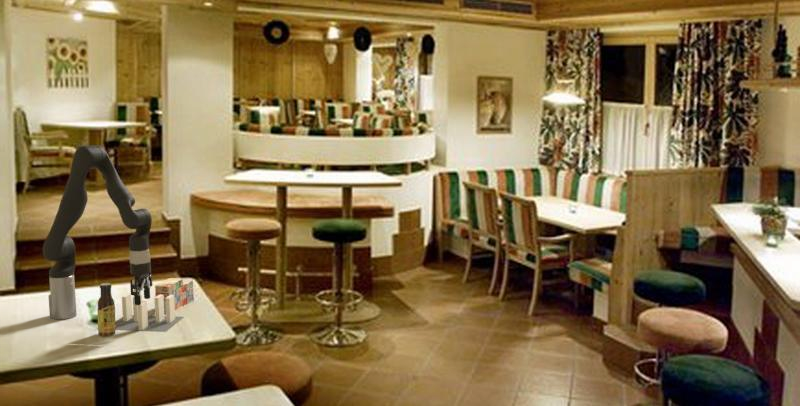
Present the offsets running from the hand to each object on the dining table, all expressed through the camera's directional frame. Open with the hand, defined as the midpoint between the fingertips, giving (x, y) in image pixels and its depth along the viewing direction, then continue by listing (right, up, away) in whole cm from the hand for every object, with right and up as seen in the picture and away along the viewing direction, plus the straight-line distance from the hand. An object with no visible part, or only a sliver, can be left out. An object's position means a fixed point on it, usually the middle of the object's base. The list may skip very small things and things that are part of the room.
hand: (142, 301), depth 294 cm
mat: (-2, -10, +8) cm, 13 cm away
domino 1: (-10, -9, +13) cm, 18 cm away
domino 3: (0, -10, +2) cm, 11 cm away
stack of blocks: (+3, -7, +32) cm, 32 cm away
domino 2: (-6, -9, +12) cm, 16 cm away
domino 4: (+3, -9, +11) cm, 15 cm away
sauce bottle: (-12, -12, -5) cm, 18 cm away
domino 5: (+8, -9, +11) cm, 16 cm away
